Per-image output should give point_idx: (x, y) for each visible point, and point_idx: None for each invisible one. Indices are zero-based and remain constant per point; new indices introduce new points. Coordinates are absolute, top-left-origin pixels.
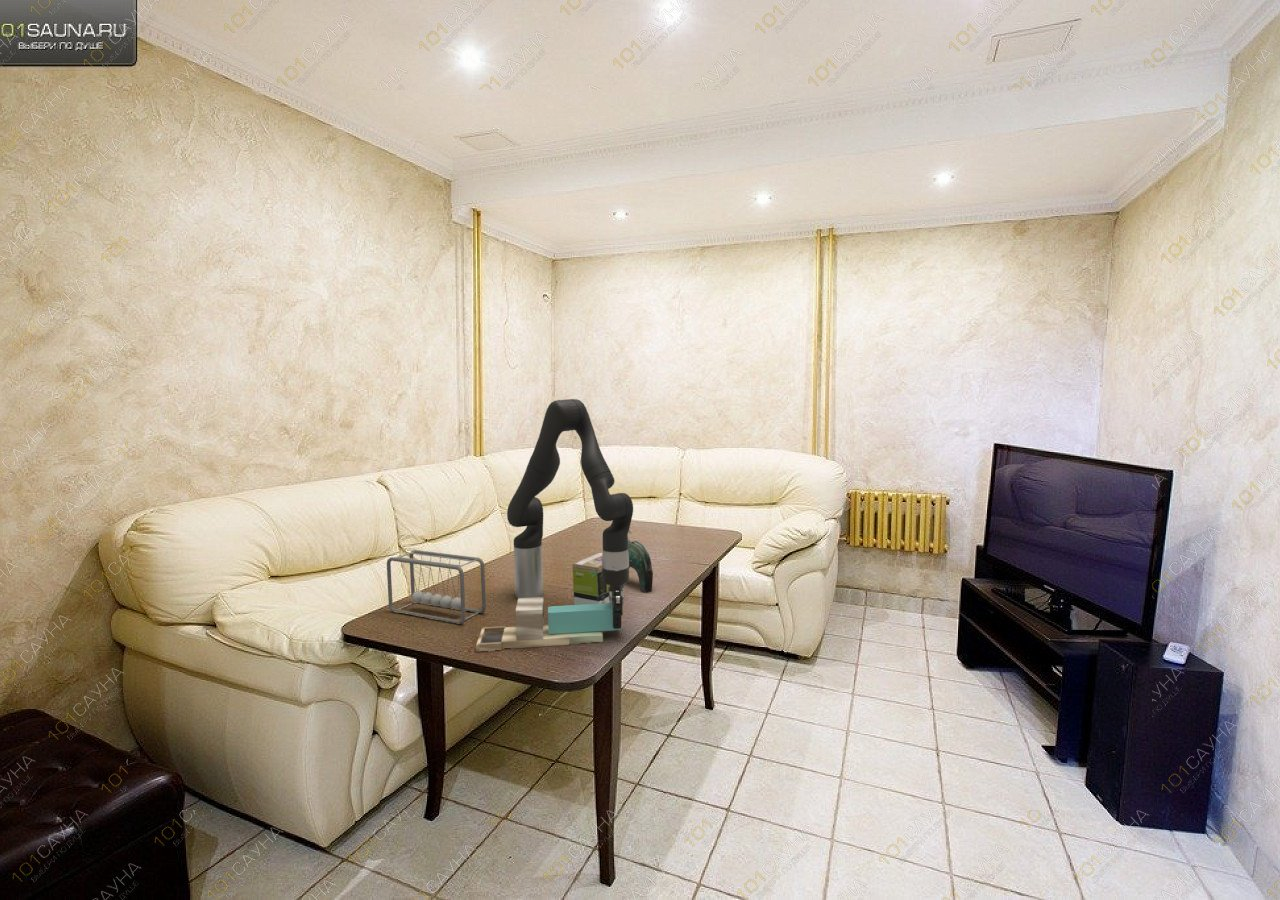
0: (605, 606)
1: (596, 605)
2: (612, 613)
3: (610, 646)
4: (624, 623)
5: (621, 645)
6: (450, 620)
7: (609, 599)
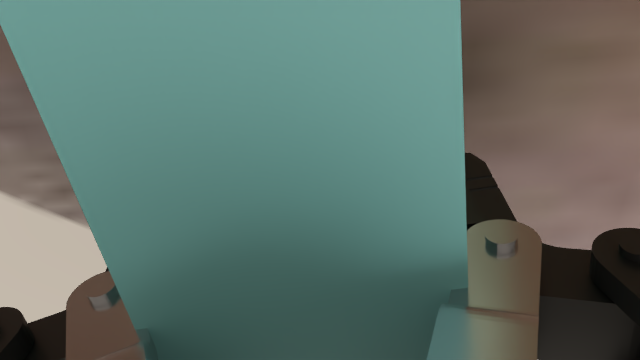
0: (268, 211)
1: (335, 13)
2: (85, 294)
3: (10, 99)
4: (571, 189)
5: (58, 190)
6: None
7: (433, 336)
